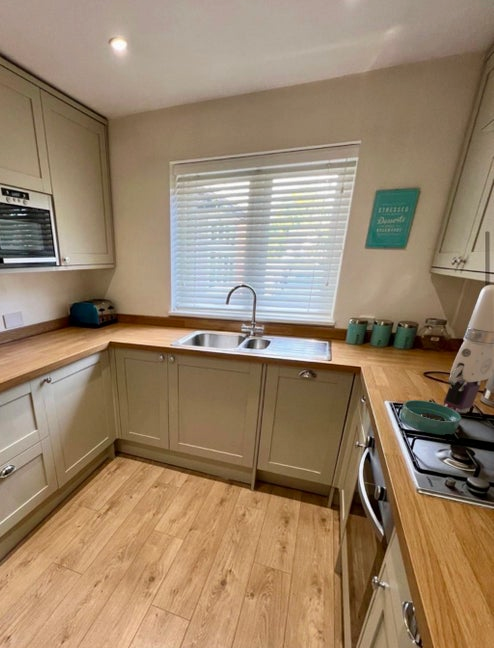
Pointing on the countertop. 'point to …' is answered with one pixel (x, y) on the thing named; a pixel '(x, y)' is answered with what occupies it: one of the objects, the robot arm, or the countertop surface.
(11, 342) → the countertop surface
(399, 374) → the countertop surface
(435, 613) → the countertop surface
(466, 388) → the snack carton
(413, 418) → the bowl
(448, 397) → the robot arm
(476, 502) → the countertop surface
